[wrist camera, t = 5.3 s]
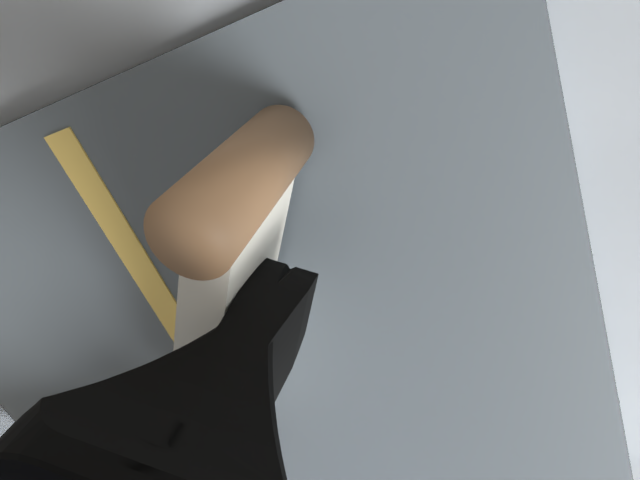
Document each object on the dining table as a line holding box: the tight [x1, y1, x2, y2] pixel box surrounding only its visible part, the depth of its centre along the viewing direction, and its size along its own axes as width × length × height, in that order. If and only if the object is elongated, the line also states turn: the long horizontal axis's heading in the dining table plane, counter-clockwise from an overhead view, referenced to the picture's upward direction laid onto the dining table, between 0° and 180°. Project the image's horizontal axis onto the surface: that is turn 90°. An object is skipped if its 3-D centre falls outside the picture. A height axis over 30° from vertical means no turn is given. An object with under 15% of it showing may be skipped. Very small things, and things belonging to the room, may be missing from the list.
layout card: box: [0, 0, 633, 480], centre depth 17 cm, size 16×24×1 cm, turn 113°
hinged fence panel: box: [143, 105, 314, 351], centre depth 13 cm, size 11×2×5 cm, turn 168°
